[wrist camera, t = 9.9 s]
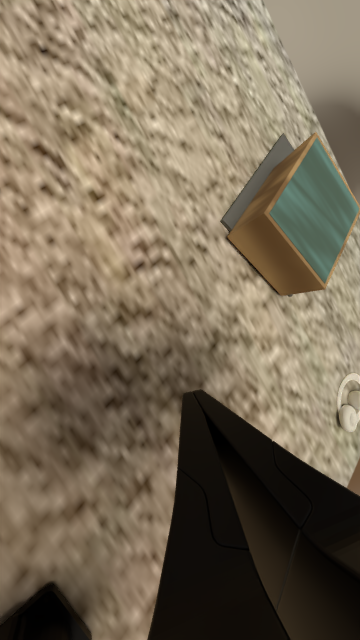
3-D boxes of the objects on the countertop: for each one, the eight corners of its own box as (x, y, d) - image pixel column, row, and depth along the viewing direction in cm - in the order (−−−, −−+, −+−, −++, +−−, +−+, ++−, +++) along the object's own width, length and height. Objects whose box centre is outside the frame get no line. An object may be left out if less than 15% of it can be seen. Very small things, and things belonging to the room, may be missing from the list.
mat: (289, 296, 25) (291, 296, 25) (220, 221, 21) (222, 219, 21) (331, 213, 29) (334, 211, 29) (280, 136, 25) (283, 133, 25)
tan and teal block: (325, 289, 20) (362, 208, 23) (264, 212, 17) (316, 131, 20) (281, 295, 24) (316, 228, 27) (227, 237, 21) (273, 168, 24)
